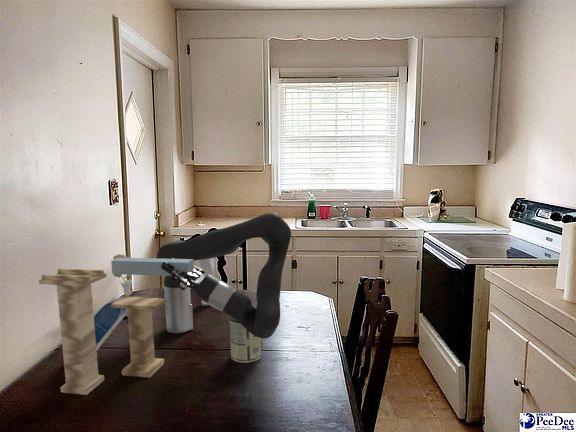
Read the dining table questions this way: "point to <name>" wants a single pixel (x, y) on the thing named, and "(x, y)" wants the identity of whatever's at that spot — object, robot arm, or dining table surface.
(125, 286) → the flower in vase
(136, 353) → the short wooden pedestal
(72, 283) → the tall stand
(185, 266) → the bar
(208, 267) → the skyscraper
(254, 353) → the coffee can
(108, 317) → the blue food package
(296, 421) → the dining table surface
